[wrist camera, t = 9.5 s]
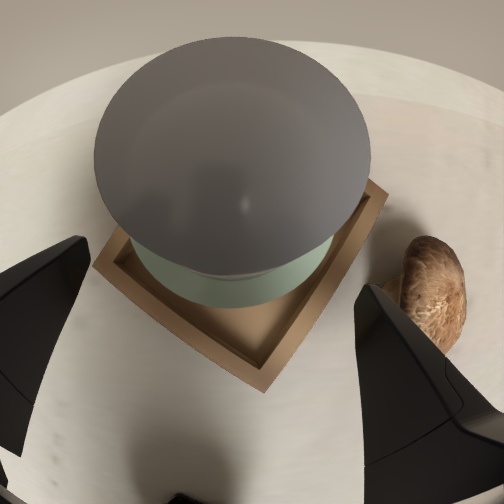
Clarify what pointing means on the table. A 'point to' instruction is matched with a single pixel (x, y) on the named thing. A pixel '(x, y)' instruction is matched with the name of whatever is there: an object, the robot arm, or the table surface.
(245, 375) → the tray
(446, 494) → the robot arm
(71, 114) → the table surface
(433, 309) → the mushroom
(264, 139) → the disc
